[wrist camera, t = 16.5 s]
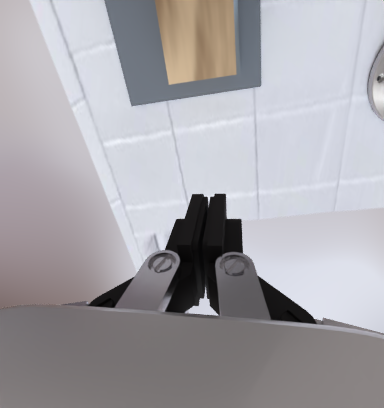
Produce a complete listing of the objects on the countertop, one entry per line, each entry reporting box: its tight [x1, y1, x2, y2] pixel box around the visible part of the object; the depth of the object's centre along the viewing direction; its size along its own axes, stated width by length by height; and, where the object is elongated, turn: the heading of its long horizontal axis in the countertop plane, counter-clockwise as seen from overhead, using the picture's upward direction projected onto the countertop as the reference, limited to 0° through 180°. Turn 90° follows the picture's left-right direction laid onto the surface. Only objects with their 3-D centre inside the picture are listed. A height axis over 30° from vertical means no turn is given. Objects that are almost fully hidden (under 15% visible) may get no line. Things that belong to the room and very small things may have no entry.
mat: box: [105, 0, 261, 106], centre depth 28 cm, size 17×14×1 cm
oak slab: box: [155, 0, 240, 85], centre depth 26 cm, size 4×10×8 cm
